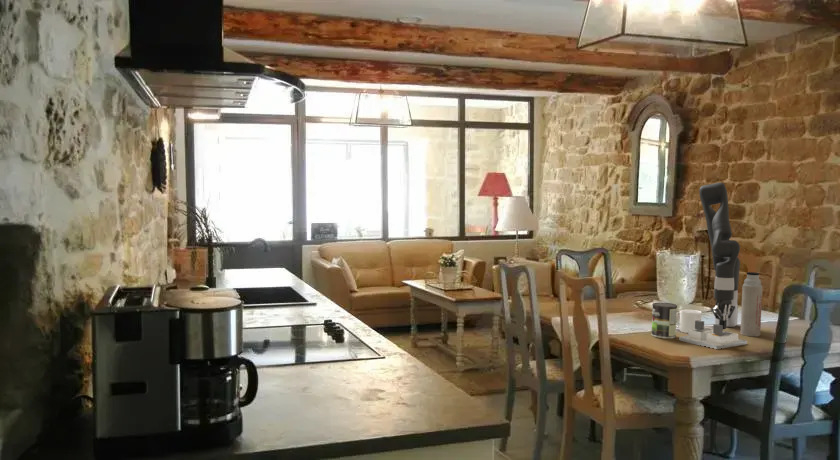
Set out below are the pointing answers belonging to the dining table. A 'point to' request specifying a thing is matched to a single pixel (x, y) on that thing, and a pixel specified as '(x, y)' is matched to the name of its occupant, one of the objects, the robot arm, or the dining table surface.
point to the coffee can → (664, 320)
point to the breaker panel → (710, 344)
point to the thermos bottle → (751, 305)
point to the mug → (688, 319)
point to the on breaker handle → (699, 325)
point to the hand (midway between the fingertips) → (722, 328)
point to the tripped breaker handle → (718, 329)
